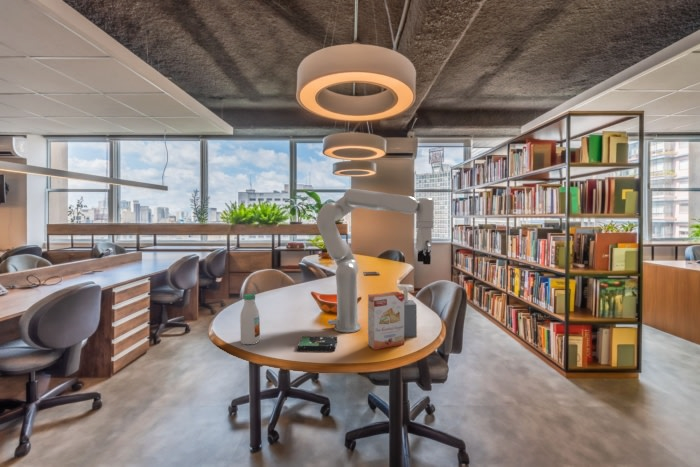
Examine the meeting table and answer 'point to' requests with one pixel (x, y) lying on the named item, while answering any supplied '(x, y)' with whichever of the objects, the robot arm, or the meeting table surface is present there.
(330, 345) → the disk drive
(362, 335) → the meeting table surface
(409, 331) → the block
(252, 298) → the milk bottle
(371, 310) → the cracker box
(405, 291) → the pump head
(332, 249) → the robot arm
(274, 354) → the meeting table surface
